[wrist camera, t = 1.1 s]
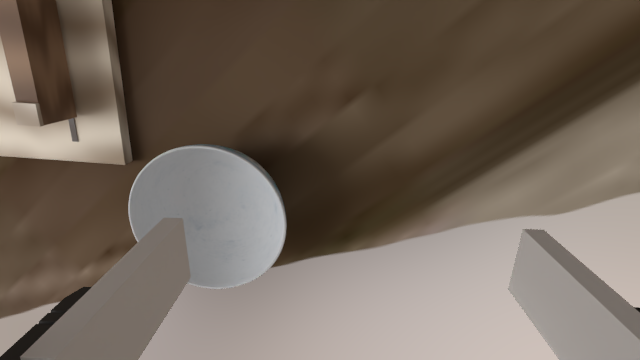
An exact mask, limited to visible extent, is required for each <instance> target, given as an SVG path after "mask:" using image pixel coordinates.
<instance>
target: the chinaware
mask: <svg viewBox="0 0 640 360" xmlns="http://www.w3.org/2000/svg"><path fill="white" fill-rule="evenodd" d="M128 209H129V219H130V224H131V228H132V231H133V233H134V236H135V238H136V240H137V242H139V241H140V240H141V239H142V238H143V237H144V236H145V235H146V234H147V233H148V232H149V231H150V230H151V229H152V228H153V227H154V226H155V225H156V224H157V223H158V222H160V221H161V220H162V219H163V218H183V224H184V231H185V238H186V246H187V253H188V260H189V267H190V274H191V278H190V279H189V281H188V282H187V283H188V284H191V285H194V286H198V287H204V288H212V289H223V288H232V287H236V286H240V285H244V284H246V283H249V282H251V281H253V280H255V279H257V278H258V277H260V276H261V275H262V274H264V273H265V272H266V271H267V270H268V269H269V268H270V267H271V266H272V265H273V264H274V262H275V261H276V260H277V258H278V256H279V255H280V253H281V250H282V248H283V245H284V242H285V237H286V228H287V222H286V212H285V207H284V203H283V200H282V197H281V194H280V192H279V190H278V188H277V186H276V184H275V182H274V181H273V179H272V178H271V176H270V175H269V174H268V173H267V172H266V170H265V169H264V168H263V167H262V166H260V165H259V164H258V163H257V162H256V161H254V160H253V159H251V158H250V157H248V156H247V155H245V154H243V153H241V152H239V151H236V150H234V149H231V148H227V147H223V146H218V145H207V144H199V145H189V146H183V147H179V148H175V149H172V150H169V151H167V152H165V153H163V154H161V155H159V156H157V157H156V158H154V159H153V160H152V161H150V162H149V163H148V164H147V165H146V166H145V167H144V168H143V169H142V170H141V172H140V173H139V174H138V176H137V178H136V180H135V181H134V184H133V186H132V189H131V192H130V197H129V206H128Z"/></svg>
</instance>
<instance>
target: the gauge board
mask: <svg viewBox="0 0 640 360" xmlns="http://www.w3.org/2000/svg"><path fill="white" fill-rule="evenodd" d="M56 4H57V9H58V15H59V20H60V26H61V31H62V37H63V42H64V48H65V53H66V59H67V64H68V70H69V75H70V81H71V86H72V92H73V97H74V103H75V108H76V114H77V117H76V118H72V119H68V120H64V121H60V122H56V123H52V124H48V125H44V126H41V127H39V126H25V125H17V122H16V118H15V114H14V110H13V106H12V102H16V99H15V95H14V90H13V86H12V82H11V78H10V74H9V70H8V65H7V61H6V57H5V53H4V49H3V45H2V40H1V36H0V156H10V157H24V158H38V159H52V160H65V161H79V162H93V163H107V164H121V165H126V164H127V163H129V162H131V161H133V160H132V153H131V145H130V137H129V130H128V122H127V115H126V107H125V100H124V92H123V85H122V77H121V69H120V62H119V54H118V47H117V39H116V32H115V24H114V17H113V9H112V1H111V0H56Z"/></svg>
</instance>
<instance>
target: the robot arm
mask: <svg viewBox="0 0 640 360" xmlns="http://www.w3.org/2000/svg"><path fill="white" fill-rule="evenodd" d="M190 278H191V274H190V267H189V260H188V253H187V246H186V238H185V231H184V224H183V218H163V219H162V220H161V221H160V222H158V223H157V224H156V225H155V226H154V227H153V228H152V229H151V230H150V231H149V232H148V233H147V234H146V235H145V236H144V237H143V238H142V239H141V240H140V241H139V242H138V243H137V244H136V245H135V246H134V247H133V248H132V249H131V250H130V251H129V252H128V253H127V254H126V255H125V256H123V257H122V258H121V259H120V260H119V261H118V262H117V263H116V264H115V265H114V266H113V267H112V268H111V269H110V270H109V271H108V272H107V273H106V274H105V275H104V276H103V277H102V278H101V279H100V280H99V281H98V282H97V283H96V284H95V285H94V286H93V287H83V288H81V289H79V290H77V291H76V292H74V293H72V294H71V295H69V296H67V297H65V298H64V299H63V300H62V301H61V302H60V303H59V304H58V305H57V306H55V307H54V309H52V310H51V313H48V314H47V315H46V316H45V317H44V318H42V319H41V320H40V321H39V324H36V325H35V326H34V327H33V328H31V330H30V331H28V332H27V333H26V334H25V335H24V336H23V337H22V338H20V339H19V340H18V341H17V342H16V343H15V344H14V345H13V346H12V347H11V348H10V349H8V350H7V351H6V352H5V353H4V354H3V355H2V356H1V357H0V360H138V359H139V357H140V356H141V354H142V353H143V351H144V350H145V348H146V346H147V345H148V343H149V342H150V340H151V339H152V337H153V335H154V334H155V332H156V331H157V329H158V328H159V326H160V325H161V323H162V321H163V320H164V318H165V317H166V315H167V314H168V312H169V310H170V309H171V307H172V306H173V304H174V303H175V301H176V300H177V298H178V296H179V295H180V293H181V292H182V290H183V288H184V287H185V285H186V284H187V282H188V281H189V279H190ZM508 290H509V291H510V292H511V294H512V295H513V297H515V299H516V301H517V302H518V303H519V305H520V306H521V307H522V309H523V310H524V312H525V313H526V314H527V316H528V317H529V319H530V320H531V321H532V323H533V324H534V326H535V327H536V328H537V330H538V331H539V332H540V334H541V335H542V336H543V338H544V339H545V341H546V342H547V343H548V345H549V346H550V348H551V349H552V350H553V352H554V353H555V354H556V356H557V357H558V359H559V360H640V308H635V307H633V306H631V305H630V304H629V303H628V302H627V301H626V300H624V299H623V298H622V297H621V296H620V295H619V294H618V293H616V292H615V291H614V290H613V289H612V288H610V287H609V286H608V285H607V284H606V283H605V282H604V281H602V280H601V279H600V278H599V277H598V276H596V275H595V274H594V273H593V272H592V271H591V270H589V269H588V268H587V267H586V266H585V265H584V264H583V263H581V262H580V261H579V260H578V259H577V258H576V257H574V256H573V255H572V254H571V253H570V252H569V251H567V250H566V249H565V248H564V247H563V246H562V245H561V244H559V243H558V242H557V241H556V240H555V239H554V238H552V237H551V236H550V235H549V234H548V233H547V232H545V231H544V230H532V229H530V230H529V229H523V231H522V235H521V239H520V244H519V247H518V251H517V255H516V259H515V264H514V267H513V271H512V276H511V280H510V284H509V288H508Z"/></svg>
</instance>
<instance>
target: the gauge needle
mask: <svg viewBox="0 0 640 360" xmlns="http://www.w3.org/2000/svg"><path fill="white" fill-rule="evenodd" d="M0 36H1V40H2V45H3V49H4V53H5V57H6V61H7V65H8V70H9V74H10V78H11V82H12V86H13V90H14V95H15V99H16V102H12V106H13V110H14V114H15V118H16V122H17V125H25V126H39V127H41V126H44V125H48V124H52V123H56V122H60V121H64V120H68V119H72V118H76V117H77V114H76V108H75V103H74V97H73V92H72V86H71V81H70V75H69V70H68V64H67V59H66V53H65V48H64V42H63V37H62V31H61V26H60V20H59V15H58V9H57V4H56V0H0Z"/></svg>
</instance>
